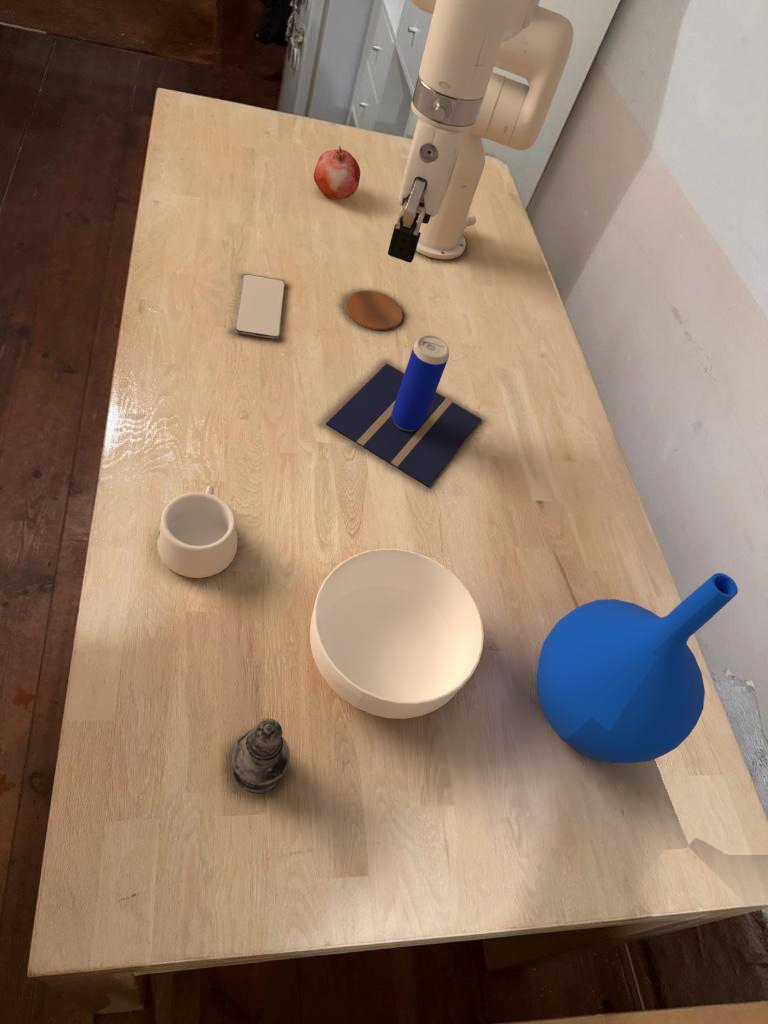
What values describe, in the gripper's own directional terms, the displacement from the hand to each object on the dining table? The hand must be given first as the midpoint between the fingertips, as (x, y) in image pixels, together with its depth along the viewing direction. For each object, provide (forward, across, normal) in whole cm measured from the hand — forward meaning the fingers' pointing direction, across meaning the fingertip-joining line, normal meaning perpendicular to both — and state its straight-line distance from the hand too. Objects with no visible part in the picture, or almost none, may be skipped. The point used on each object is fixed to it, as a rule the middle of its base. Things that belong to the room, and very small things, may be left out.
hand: (408, 238), depth 95 cm
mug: (+28, -35, +12) cm, 47 cm away
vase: (+28, -40, -40) cm, 63 cm away
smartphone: (+28, +11, +21) cm, 37 cm away
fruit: (+28, +52, +21) cm, 63 cm away
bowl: (+28, -42, -14) cm, 52 cm away
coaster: (+28, +21, +4) cm, 35 cm away
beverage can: (+28, -3, -8) cm, 29 cm away
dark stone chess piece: (+28, -60, -4) cm, 66 cm away
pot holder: (+28, -3, -8) cm, 29 cm away
